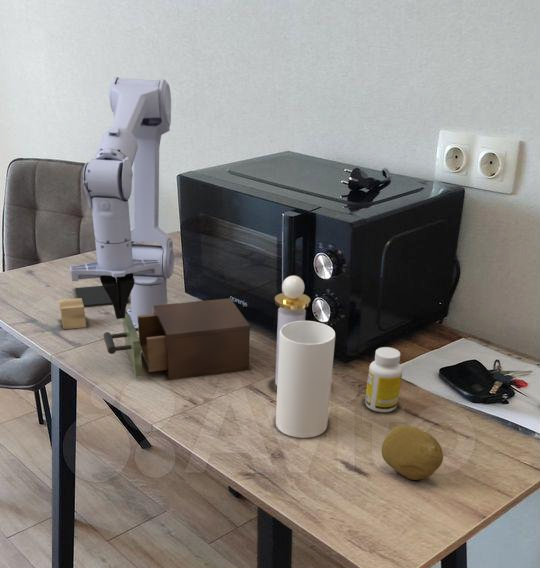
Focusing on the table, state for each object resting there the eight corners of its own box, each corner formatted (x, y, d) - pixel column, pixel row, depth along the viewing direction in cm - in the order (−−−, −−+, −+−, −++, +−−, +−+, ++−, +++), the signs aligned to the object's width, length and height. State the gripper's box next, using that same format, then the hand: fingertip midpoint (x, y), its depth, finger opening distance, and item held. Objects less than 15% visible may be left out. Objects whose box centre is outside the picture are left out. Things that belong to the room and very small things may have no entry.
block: (61, 320, 142) (58, 300, 139) (84, 318, 143) (81, 297, 140) (63, 329, 138) (60, 308, 136) (86, 327, 139) (83, 306, 137)
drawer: (112, 380, 120) (108, 344, 116) (103, 350, 129) (100, 316, 125) (211, 367, 125) (211, 333, 121) (196, 340, 134) (195, 307, 130)
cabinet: (169, 379, 123) (167, 334, 118) (155, 348, 133) (153, 305, 128) (249, 369, 127) (250, 325, 122) (230, 339, 137) (230, 298, 132)
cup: (300, 404, 117) (306, 316, 108) (337, 424, 112) (347, 333, 103) (264, 422, 112) (268, 330, 103) (302, 444, 107) (309, 349, 98)
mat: (75, 289, 155) (75, 288, 155) (121, 285, 158) (121, 284, 158) (80, 307, 147) (79, 305, 147) (128, 302, 150) (127, 301, 150)
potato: (376, 461, 104) (383, 415, 100) (426, 460, 105) (435, 415, 100) (386, 490, 98) (393, 443, 94) (439, 489, 99) (449, 442, 95)
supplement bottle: (403, 405, 118) (411, 352, 113) (384, 417, 115) (392, 363, 109) (377, 393, 121) (384, 341, 116) (358, 404, 118) (364, 352, 112)
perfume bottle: (311, 389, 122) (319, 278, 111) (283, 397, 119) (289, 285, 108) (291, 375, 125) (297, 267, 114) (264, 383, 123) (268, 273, 112)
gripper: (68, 249, 108) (79, 330, 115) (162, 242, 112) (166, 321, 119) (64, 235, 113) (74, 313, 121) (154, 229, 117) (158, 305, 125)
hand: (120, 316), depth 120 cm, fingers closed
